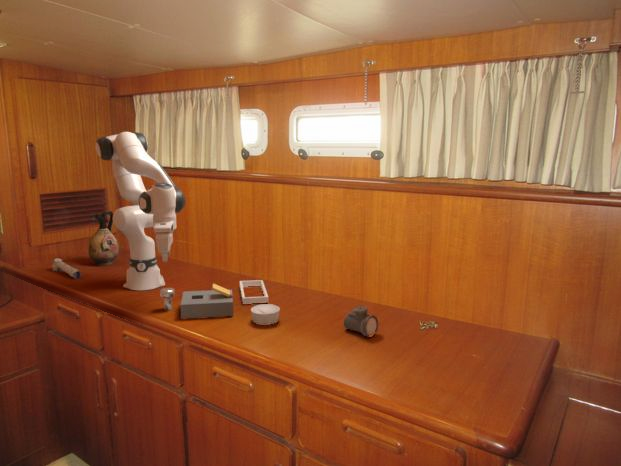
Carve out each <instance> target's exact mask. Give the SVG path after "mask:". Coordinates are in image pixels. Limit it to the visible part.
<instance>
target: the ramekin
mask: <svg viewBox="0 0 621 466" xmlns="http://www.w3.org/2000/svg"><path fill="white" fill-rule="evenodd" d="M280 312H281V308H280V306H277V305H275V304H272V303H268V304H255V305H254V306H253V307H251V308H250V314H251V317H252V321H253V323H254V324H255V323H256V324H255V325H257V324H259V325H258V326H260V325H269V326H271V325H270V324H273V325H275V324H276V323H278V321H279V317H280ZM274 323H275V324H274Z"/></svg>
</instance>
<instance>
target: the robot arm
mask: <svg viewBox="0 0 621 466" xmlns="http://www.w3.org/2000/svg"><path fill="white" fill-rule="evenodd" d="M148 147H149V143H148V141H147V138H146V136H145V134H144V133H142V132H135V131H134V132H130V131H121V132H120V133H117V134H112V135H108V136H104V135H103V136H101V137H99V138H97V139H96V141H95V152H96V154H97V155H98V157H99V158H100V159H101V160H102V161H111V160H112V162H111V163H112V170H113V176H114V179H115V183H116V186H117V189H118V192H119V195H120V197H121V198H122V199H124V200H126V201H128V202H130V203H131V204H132V205H126V206H124V207H119V208H117V209H116V210H115V211H114V212H113V223H112V224H114V226H115V227H116V229H118V230H119V231H121V232H122V233H123V234H124V235H125V237H126V238H127V242H128V244H129V246H128V247H129V255H130V258H129V263H128V264H129V267H128V268H127V269H126V282H125V283H124V284H123V285H122V287H123V288H125V289H129V290H133V291H148V290H150V291H151V290H154V289H157V288H160V287H164V286H166V282H165V279H164V277H163V275H161V270H160V268H159V266H158V264H157V263H158V262H157V261H158V259H157V256H156V249H157V251H158V253H161V258H162V262H168V257H169V256H170V255H171V246H172V244H173V242H174V235H173V233H174V231H175V230H176V229H177V228H178V227H177V214H178V213H180V212H182V210H183V209H184V208H185V206H186V196H185V195H184V193H183V192H182V190H181V189H180V188H178V187H177V185H176V184H175V183H174V181H173V180H172V179H171V177H170V176H169V174H168V173H167V171H166V170H165V169H164V167H163V166H162V164H160V162H158V161H156V160H155V159H153V158H152V157H151V156H150V155H149V154H148V150H149V149H148ZM142 177H145V178H149V179H151V180H154V181H156V183H154V184H152V187H151V188H150V189H148V190H147V189H146V187H145V185H144V182H143V179H142ZM147 228H153V233H155V240H156V243H155V240H154V239H153V238H152V237H150V236H149V235H147V234H146V233H145V229H147Z"/></svg>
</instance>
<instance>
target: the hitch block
mask: <svg viewBox="0 0 621 466" xmlns="http://www.w3.org/2000/svg"><path fill="white" fill-rule="evenodd" d="M229 290H232V291H233V289H229ZM181 296H182V297H181V301H180V320H186V319H185V318H197V319H204V318H203V317H214V318H224V317H223V316H232V317H234V298H233V297H234V296H233V297H232V298H230V297H228V296H225V295H223V294H220V293H218V292H216V291H213V290H212V289H211V290H191V291H188V290H187V291H183V292H182V295H181Z"/></svg>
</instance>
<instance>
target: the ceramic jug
mask: <svg viewBox="0 0 621 466" xmlns="http://www.w3.org/2000/svg"><path fill="white" fill-rule="evenodd" d="M113 214H114V212H113V211H111V210H105V211H103V212H102V213H101V215H99V214H98V213H95V214H94V215H93V216H92V218H91V221H92V222H94V223H97V224H99V227H98V228H97V230H96V231H95V233H94V234H93V237H92V238H91V240H90V242H89V245H88V256H89V258H90V259H91V260H92V261H93V262H94V263H95V266H99V267H100V266H101V267H103V266H109V265H110V266H111V265H112V264H113V263H114V261H115V259H117V257H118V256H119V253H120V246H119V242H118V241H117V238H116V237H115V235H113V233H112V226H113V224H114V223H113ZM106 215H109V220H108V219H107V217H106ZM107 223H108V224H107Z"/></svg>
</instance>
